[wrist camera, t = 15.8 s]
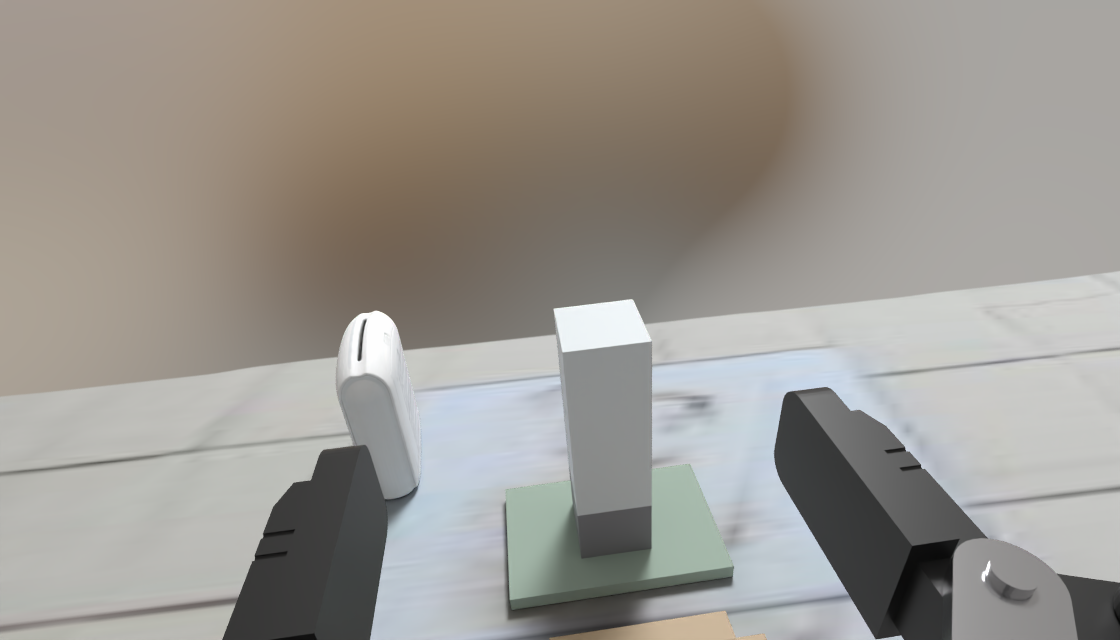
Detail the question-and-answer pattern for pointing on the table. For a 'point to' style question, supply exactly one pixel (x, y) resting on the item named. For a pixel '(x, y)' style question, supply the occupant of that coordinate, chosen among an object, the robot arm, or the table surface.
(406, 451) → the photo printer
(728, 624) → the open carton
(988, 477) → the table surface
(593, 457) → the box
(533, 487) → the rubber mat
